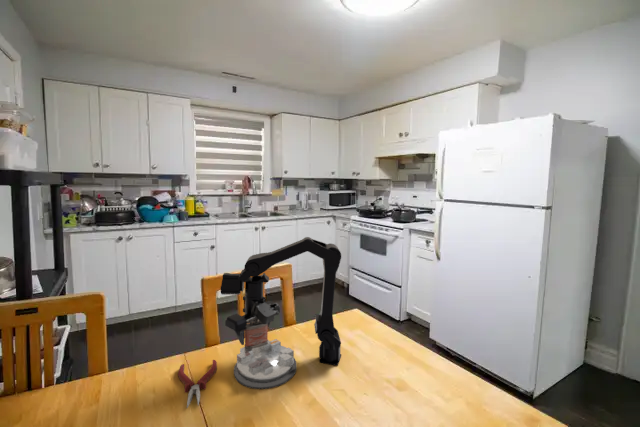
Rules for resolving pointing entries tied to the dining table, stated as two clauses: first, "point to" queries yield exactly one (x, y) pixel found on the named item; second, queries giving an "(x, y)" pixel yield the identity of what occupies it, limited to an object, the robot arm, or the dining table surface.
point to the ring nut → (265, 362)
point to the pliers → (199, 385)
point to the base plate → (265, 384)
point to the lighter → (255, 334)
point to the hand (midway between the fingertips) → (253, 338)
